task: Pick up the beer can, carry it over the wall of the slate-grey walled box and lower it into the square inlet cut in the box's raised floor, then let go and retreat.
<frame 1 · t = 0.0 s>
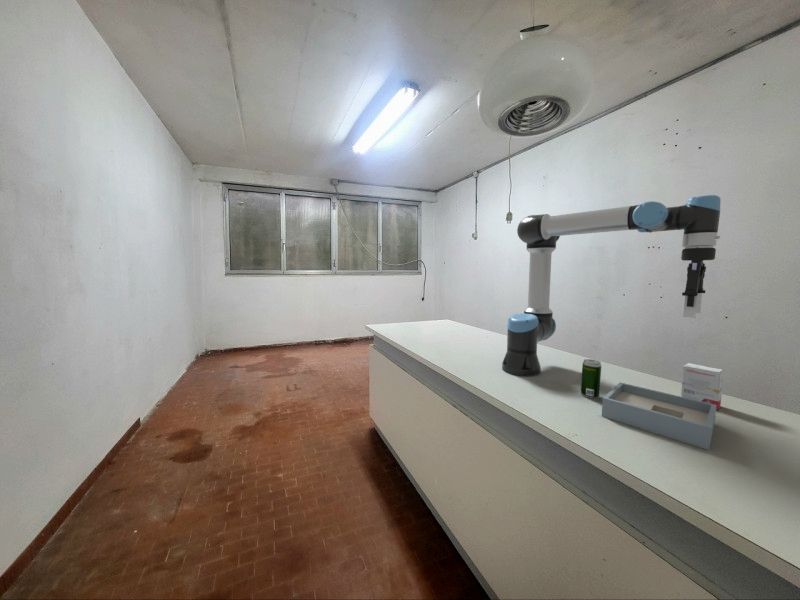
hand: (691, 315, 96), 28 cm above the table, fingers open, 13 cm apart
ink box: (699, 403, 96), on the table
beer can: (589, 396, 101), on the table
inlet box: (656, 419, 85), on the table
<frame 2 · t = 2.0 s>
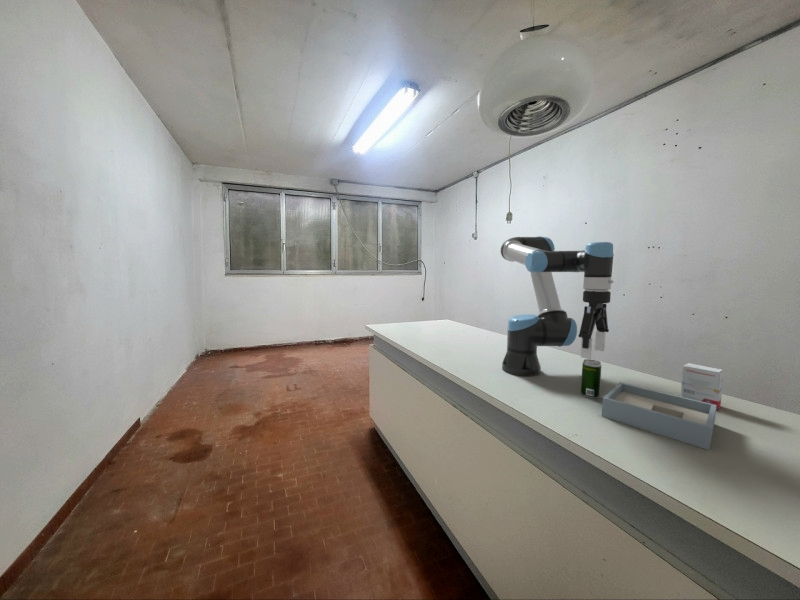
hand: (593, 354, 100), 15 cm above the table, fingers open, 13 cm apart
nothing on the table moved.
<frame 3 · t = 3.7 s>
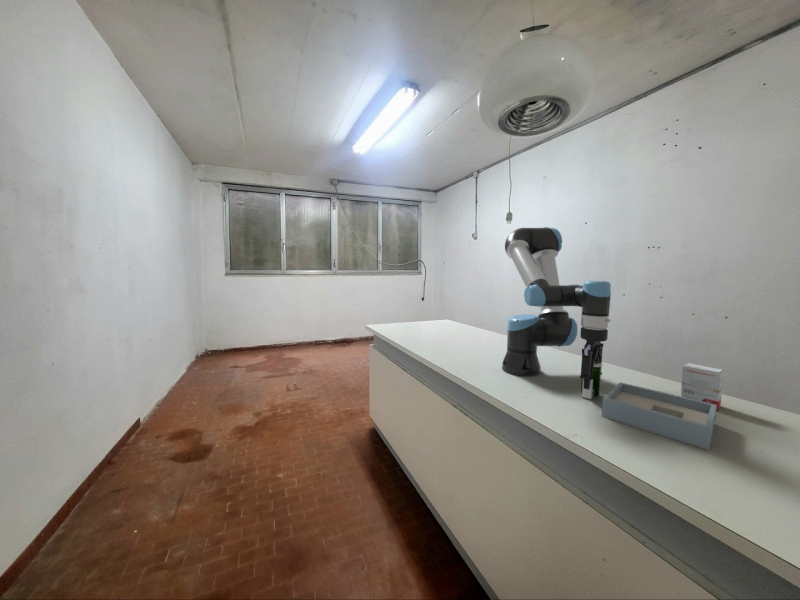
hand: (589, 394, 101), 0 cm above the table, fingers closed on beer can, 5 cm apart
beer can: (589, 396, 101), on the table, touching gripper
everything else where it was.
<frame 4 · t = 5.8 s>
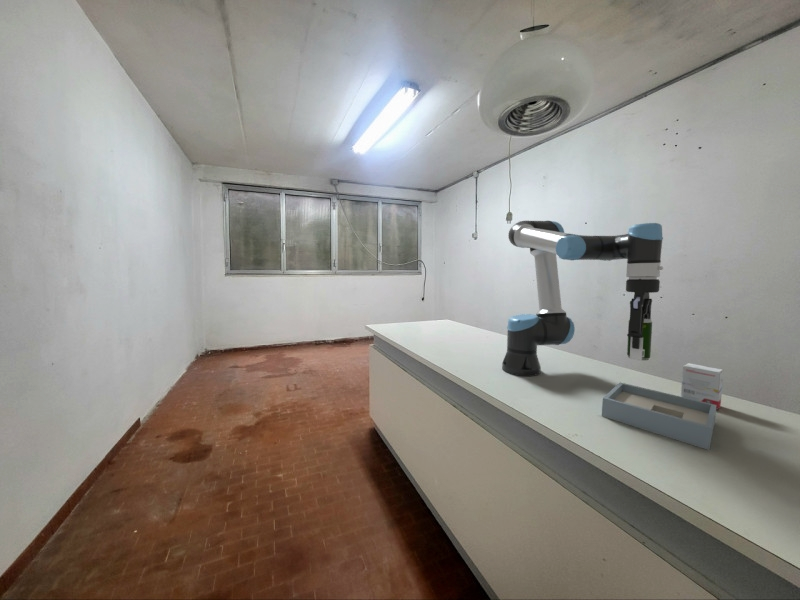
hand: (638, 357, 88), 17 cm above the table, fingers closed on beer can, 5 cm apart
beer can: (638, 358, 88), point 16 cm above the table, touching gripper
everything else where it was.
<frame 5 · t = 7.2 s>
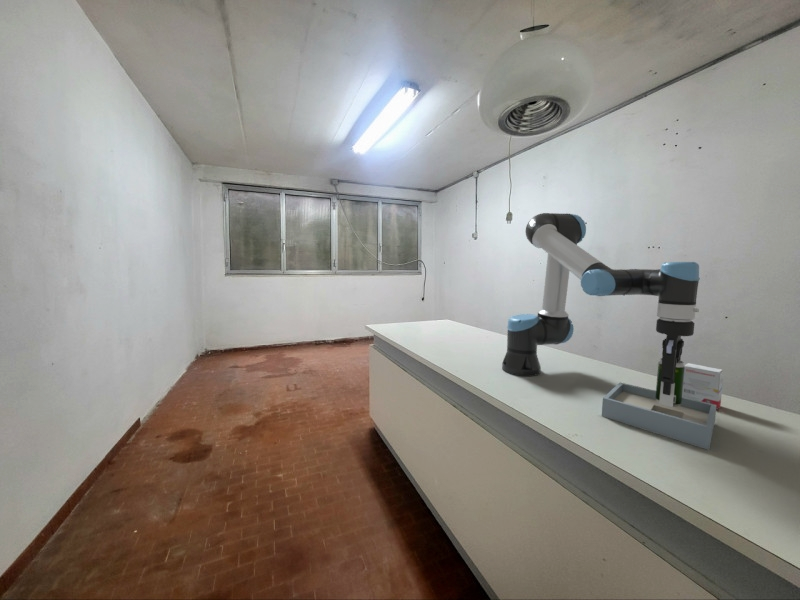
hand: (667, 401, 83), 6 cm above the table, fingers closed on beer can, 5 cm apart
beer can: (667, 403, 83), point 6 cm above the table, touching gripper
everything else where it was.
when the fingers open (3 cm above the table, at t = 8.0 s): beer can drops 3 cm, resting in inlet box.
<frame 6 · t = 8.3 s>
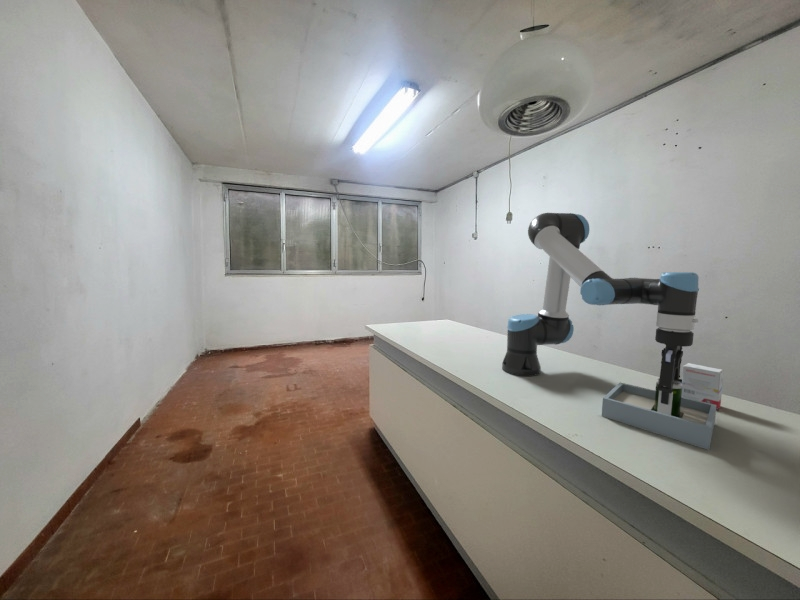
hand: (666, 408, 83), 4 cm above the table, fingers open, 9 cm apart
beer can: (665, 423, 84), resting in inlet box
everything else where it was.
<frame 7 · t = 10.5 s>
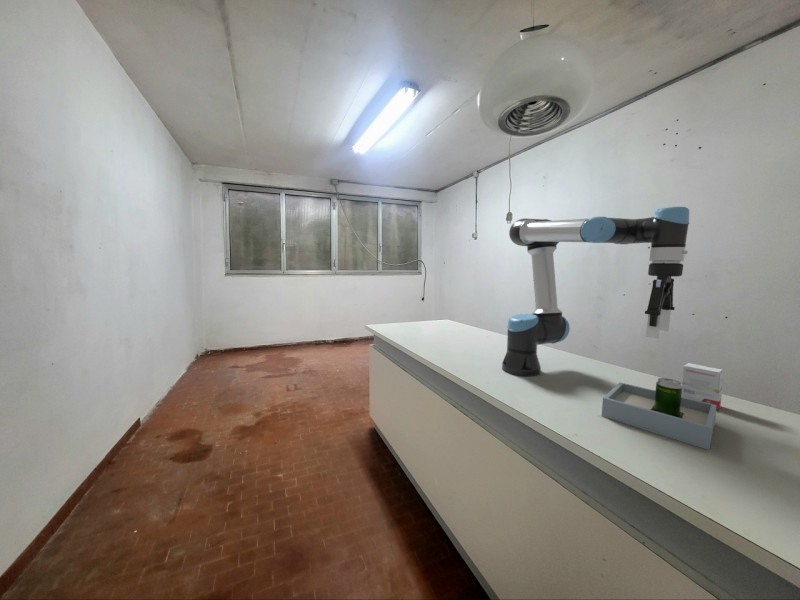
hand: (657, 333, 90), 23 cm above the table, fingers open, 13 cm apart
nothing on the table moved.
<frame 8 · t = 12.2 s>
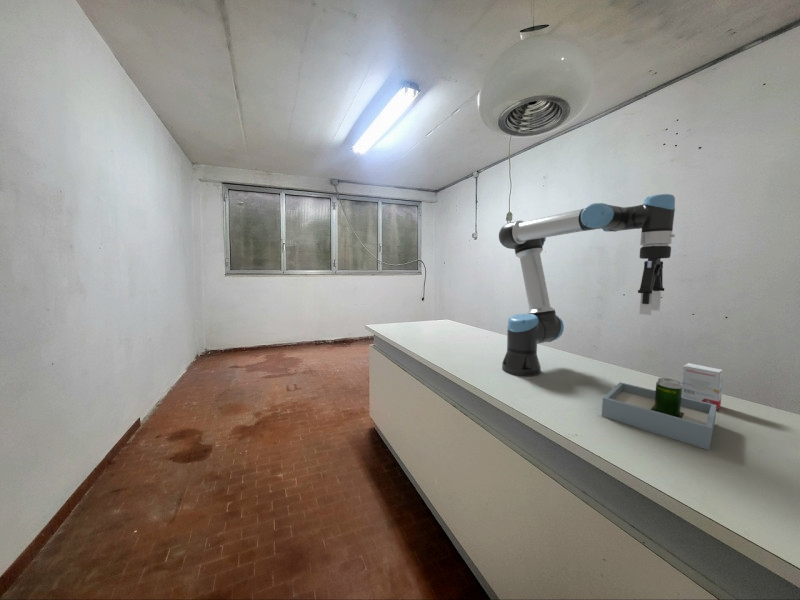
hand: (649, 312, 97), 29 cm above the table, fingers open, 13 cm apart
nothing on the table moved.
at the end: beer can 0.0 cm from the target spot on the inlet box, point 0.0 cm above the inlet box's base; beer can tilted 0°; the gripper is holding nothing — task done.
